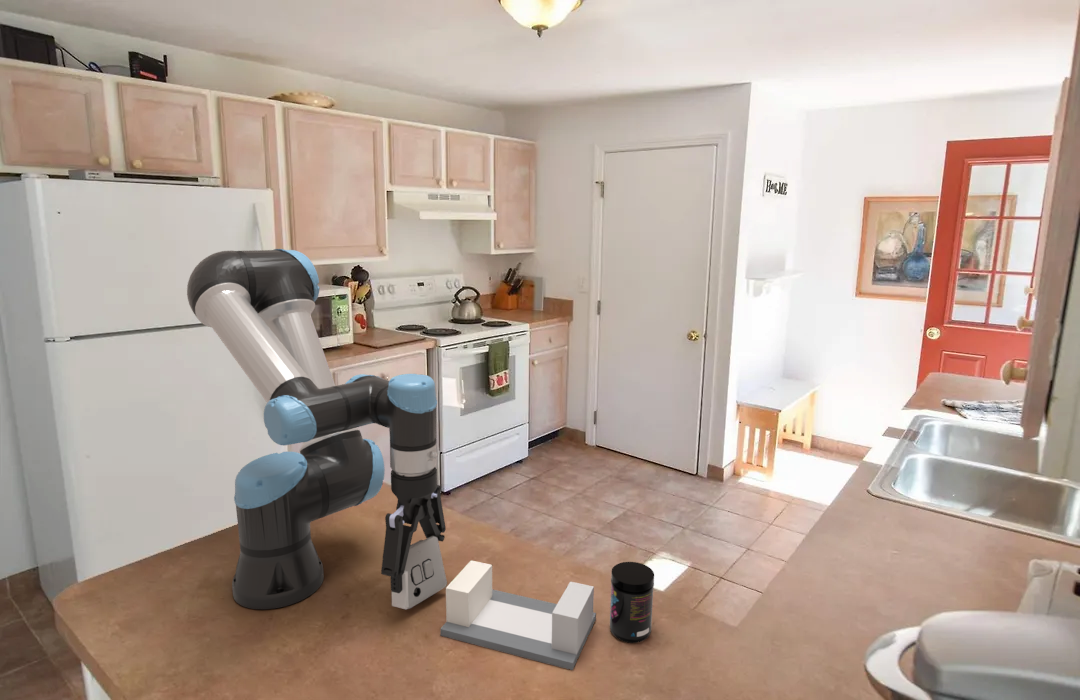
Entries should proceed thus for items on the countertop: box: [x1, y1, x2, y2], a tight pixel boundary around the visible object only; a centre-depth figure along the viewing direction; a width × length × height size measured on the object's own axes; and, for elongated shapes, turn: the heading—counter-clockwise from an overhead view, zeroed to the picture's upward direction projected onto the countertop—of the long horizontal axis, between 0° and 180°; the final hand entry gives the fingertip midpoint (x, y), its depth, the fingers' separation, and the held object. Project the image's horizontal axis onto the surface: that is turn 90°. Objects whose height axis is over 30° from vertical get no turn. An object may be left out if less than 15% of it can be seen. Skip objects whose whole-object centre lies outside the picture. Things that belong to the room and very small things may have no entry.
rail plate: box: [440, 559, 597, 671], centre depth 101 cm, size 22×13×7 cm, turn 70°
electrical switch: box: [405, 536, 448, 610], centre depth 107 cm, size 9×5×9 cm, turn 141°
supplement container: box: [609, 561, 655, 644], centre depth 100 cm, size 7×7×10 cm
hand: (416, 589), depth 108 cm, fingers closed on electrical switch, 9 cm apart
